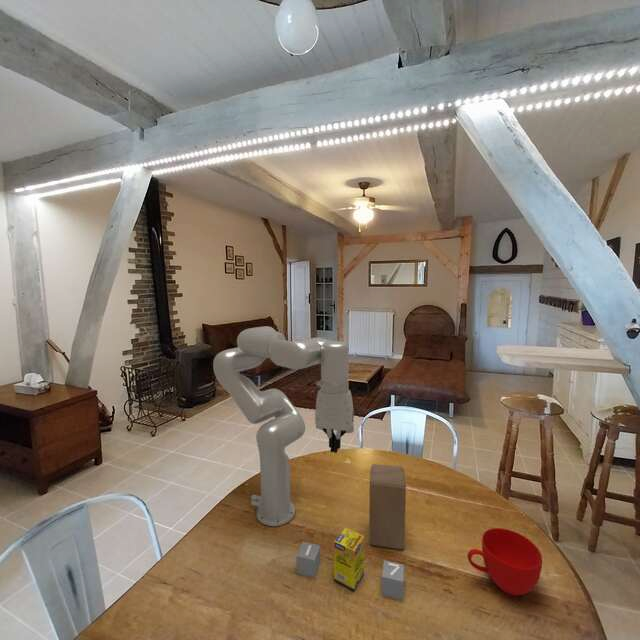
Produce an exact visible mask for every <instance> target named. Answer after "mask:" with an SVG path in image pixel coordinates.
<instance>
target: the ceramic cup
mask: <svg viewBox="0 0 640 640" xmlns="http://www.w3.org/2000/svg"><path fill="white" fill-rule="evenodd" d="M474 555H479V556H481V557H482V558H483V559H482V560H483V562H484V566H481V565H478V564H477V563H475V562H474V561H473V560H472V557H473V556H474ZM467 560H468V562H469V563H470V565H471V566H472V567H473V568H474V569H475V570H478V571H480V572H483V573H485V574H486V573H487V574H488V575H489V577H490V578H491V580H492V581H493V582H494V583H495V584H496V586H497V587H498V588H499V590H501V591H503V592H504V593H506V594H508V595H511V596H514V597H515V596H516V597H517V596H522V595H525V594H528V593H530V592H531V591H533V590H534V588H535V587H536V586H537V584H538V583H539V580H540V576H541V572H542V567H543V556H542V553H541V551H540V550H539V548H538V547H537V546H536V545H535V544H534V542H532V541H531V540H530V539H529V538H528V537H526V536H524V535H522V534H521V533H519V532H517V531H514V530H511V529H507V528H500V527H495V528H489V529H488V530H485V531H484V533H483V534H482V536H481V550H480V549H477V548H471V549H470V550H469V551H468V553H467Z"/></svg>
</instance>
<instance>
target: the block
mask: <svg viewBox="0 0 640 640" xmlns="http://www.w3.org/2000/svg"><path fill="white" fill-rule="evenodd" d="M405 472H406V471H405V468H404V467H403V466H395V465H389V464H388V465H387V464H377V463H372V464H371V466H370V473H369V474H370V475H369V506H368V507H369V511H368V512H369V513H368V514H369V515H368V516H369V517H368V519H369V520H368V522H369V523H368V525H369V526H368V528H369V529H368V530H369V531H368V536H369V538H368V541H369V543H370V545H371V546H375V547H382V548H387V549H388V548H389V549H396V550H404V548H405V542H406V538H405V537H406V505H407V503H406V502H407V501H406V500H407V499H406V496H407V495H406V494H407V485H406V484H407V483H406V473H405Z"/></svg>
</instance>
